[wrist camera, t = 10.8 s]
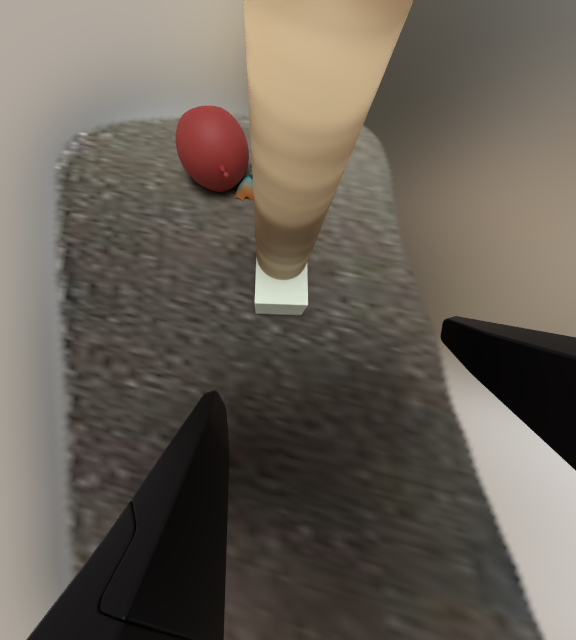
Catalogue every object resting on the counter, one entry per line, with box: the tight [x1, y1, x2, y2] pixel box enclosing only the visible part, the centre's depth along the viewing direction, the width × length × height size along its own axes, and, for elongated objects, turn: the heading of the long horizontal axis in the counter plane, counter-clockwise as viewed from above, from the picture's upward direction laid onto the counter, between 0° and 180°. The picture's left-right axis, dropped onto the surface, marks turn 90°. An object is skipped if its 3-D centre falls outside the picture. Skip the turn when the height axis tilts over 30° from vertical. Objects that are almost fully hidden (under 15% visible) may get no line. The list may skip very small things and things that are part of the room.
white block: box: [255, 257, 308, 315], centre depth 19 cm, size 8×4×3 cm, turn 0°
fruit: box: [176, 106, 249, 192], centre depth 19 cm, size 6×6×8 cm
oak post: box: [244, 0, 413, 280], centre depth 11 cm, size 4×4×13 cm
